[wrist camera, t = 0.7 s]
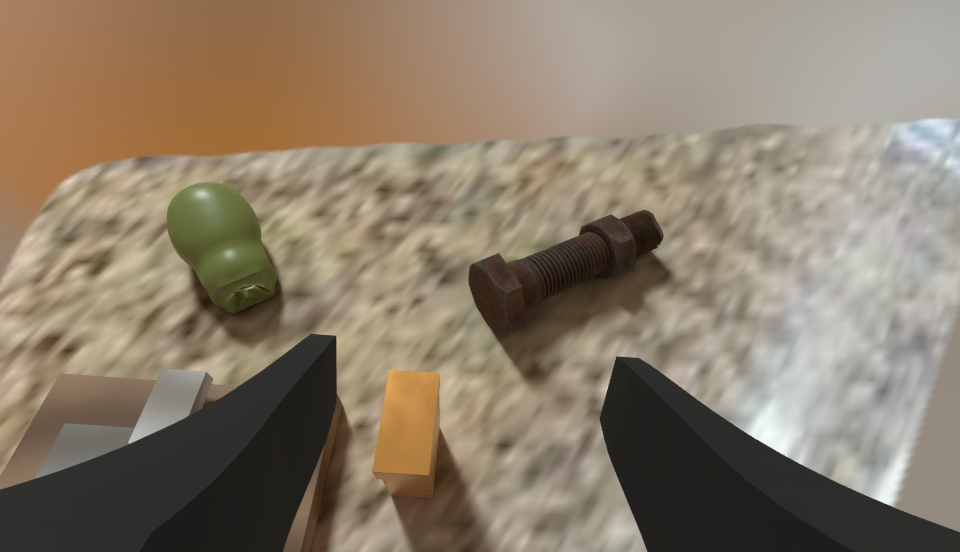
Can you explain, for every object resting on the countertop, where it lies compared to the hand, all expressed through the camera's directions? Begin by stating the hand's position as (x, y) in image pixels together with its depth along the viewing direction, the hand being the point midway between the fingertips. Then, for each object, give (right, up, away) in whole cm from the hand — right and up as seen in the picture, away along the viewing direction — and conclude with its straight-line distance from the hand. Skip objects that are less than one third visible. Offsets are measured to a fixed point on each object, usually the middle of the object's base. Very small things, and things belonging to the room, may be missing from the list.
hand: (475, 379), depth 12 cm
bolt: (+7, +2, +24) cm, 25 cm away
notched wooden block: (-4, -8, +16) cm, 18 cm away
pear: (-18, +3, +23) cm, 29 cm away
